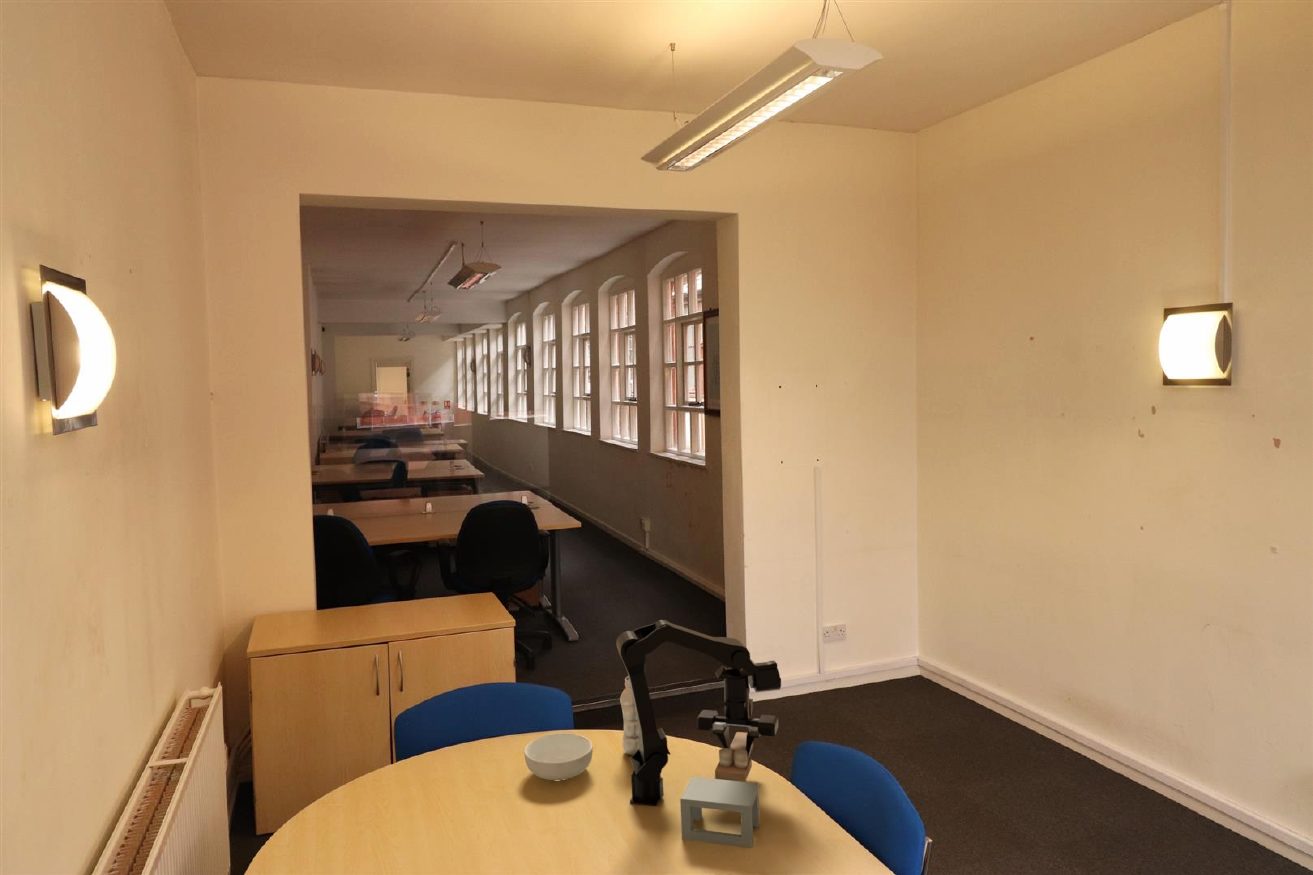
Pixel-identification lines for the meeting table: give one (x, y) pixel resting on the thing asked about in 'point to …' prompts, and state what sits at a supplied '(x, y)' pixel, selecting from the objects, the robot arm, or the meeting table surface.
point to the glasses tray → (732, 769)
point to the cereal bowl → (558, 755)
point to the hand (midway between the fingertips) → (738, 757)
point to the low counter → (720, 798)
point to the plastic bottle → (629, 720)
